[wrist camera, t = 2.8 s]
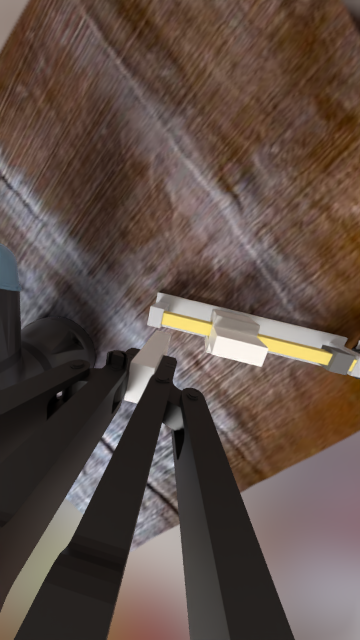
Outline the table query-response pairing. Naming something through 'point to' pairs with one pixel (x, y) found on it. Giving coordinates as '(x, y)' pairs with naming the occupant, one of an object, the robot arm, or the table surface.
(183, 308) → the linear slide rail
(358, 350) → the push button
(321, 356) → the long yellow bar
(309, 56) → the table surface
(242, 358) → the white stepped block
